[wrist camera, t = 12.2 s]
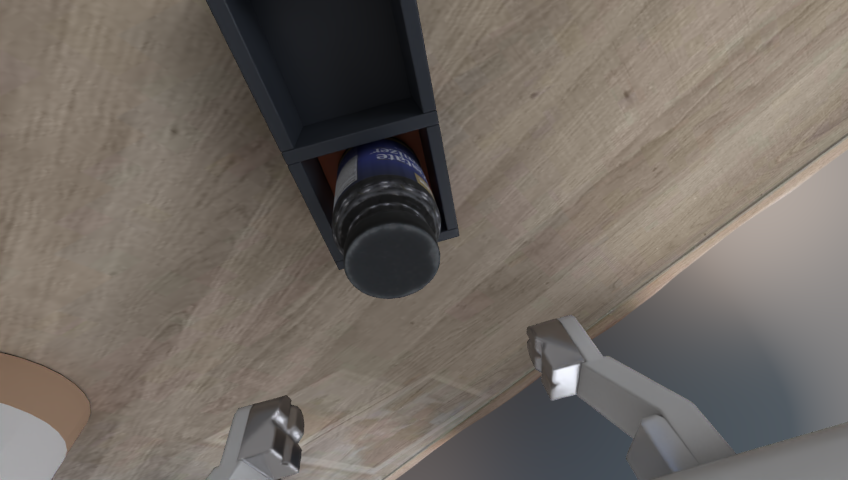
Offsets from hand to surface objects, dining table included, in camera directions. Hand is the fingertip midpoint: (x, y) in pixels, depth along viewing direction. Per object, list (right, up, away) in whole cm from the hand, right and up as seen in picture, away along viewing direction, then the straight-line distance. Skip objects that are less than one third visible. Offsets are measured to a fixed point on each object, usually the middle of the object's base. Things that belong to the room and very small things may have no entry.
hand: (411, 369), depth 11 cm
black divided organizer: (-4, +13, +12) cm, 18 cm away
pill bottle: (-3, +9, +14) cm, 17 cm away
